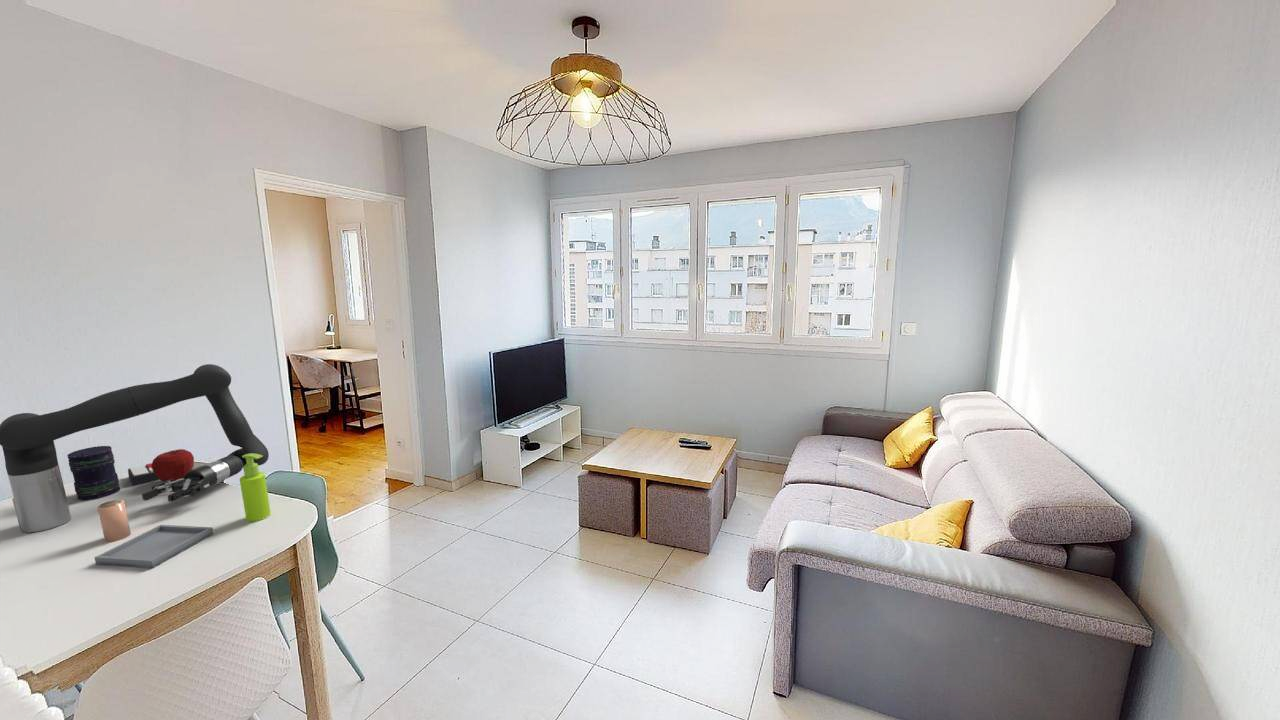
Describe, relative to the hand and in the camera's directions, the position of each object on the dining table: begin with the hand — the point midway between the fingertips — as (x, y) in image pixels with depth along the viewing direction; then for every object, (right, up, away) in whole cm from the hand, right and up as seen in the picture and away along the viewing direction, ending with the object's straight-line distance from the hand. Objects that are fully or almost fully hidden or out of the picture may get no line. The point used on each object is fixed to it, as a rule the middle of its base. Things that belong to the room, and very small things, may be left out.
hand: (156, 498), depth 146 cm
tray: (+16, -9, -15) cm, 24 cm away
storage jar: (-35, -3, +16) cm, 38 cm away
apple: (-18, -1, +25) cm, 31 cm away
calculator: (-29, -1, +31) cm, 42 cm away
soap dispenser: (+30, -6, +1) cm, 31 cm away
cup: (-1, -8, -10) cm, 13 cm away
